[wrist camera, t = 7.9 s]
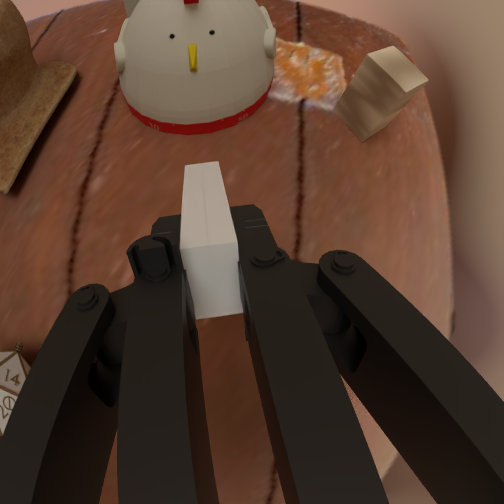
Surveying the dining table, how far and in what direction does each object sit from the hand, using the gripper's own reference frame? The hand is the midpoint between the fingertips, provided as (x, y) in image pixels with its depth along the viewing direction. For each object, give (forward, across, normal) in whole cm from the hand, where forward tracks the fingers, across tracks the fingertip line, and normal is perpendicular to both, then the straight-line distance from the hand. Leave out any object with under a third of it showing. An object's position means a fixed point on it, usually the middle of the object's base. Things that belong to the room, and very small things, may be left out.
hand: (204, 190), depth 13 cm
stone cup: (+16, -19, +5) cm, 26 cm away
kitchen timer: (+16, 0, +5) cm, 17 cm away
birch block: (+12, +15, +1) cm, 19 cm away
